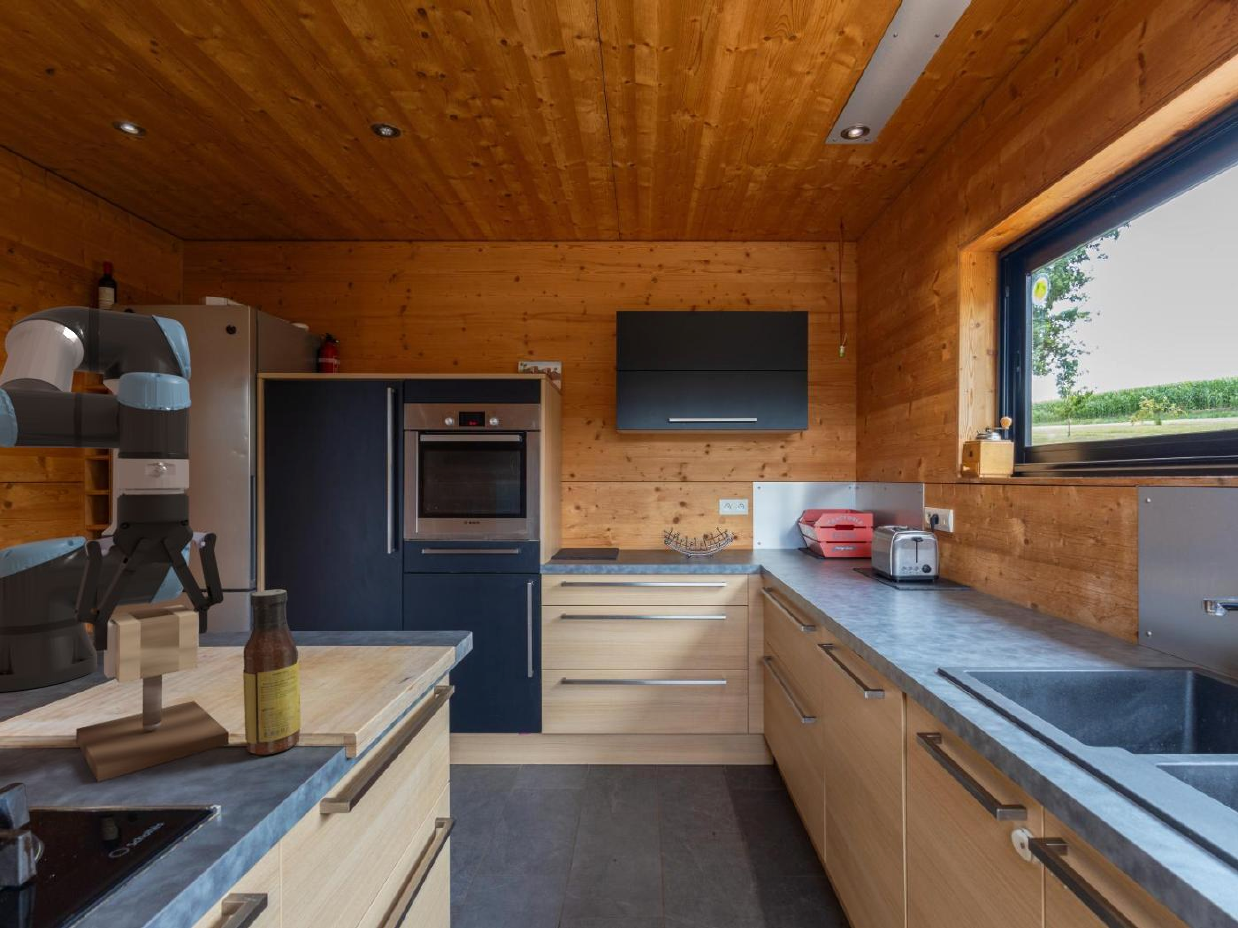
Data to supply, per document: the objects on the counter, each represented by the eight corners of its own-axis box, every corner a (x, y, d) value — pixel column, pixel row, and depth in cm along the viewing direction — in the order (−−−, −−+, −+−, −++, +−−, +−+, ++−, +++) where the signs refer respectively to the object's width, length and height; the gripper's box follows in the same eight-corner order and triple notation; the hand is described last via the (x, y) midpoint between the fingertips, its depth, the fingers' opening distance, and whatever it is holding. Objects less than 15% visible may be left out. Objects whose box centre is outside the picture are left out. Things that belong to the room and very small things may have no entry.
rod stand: (76, 740, 80) (77, 637, 80) (193, 710, 90) (194, 619, 90) (97, 781, 69) (99, 662, 69) (228, 743, 79) (229, 639, 79)
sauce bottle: (310, 736, 81) (311, 587, 81) (280, 758, 75) (281, 597, 75) (264, 734, 82) (265, 586, 82) (230, 756, 75) (231, 596, 76)
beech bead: (107, 668, 79) (107, 614, 79) (181, 655, 85) (181, 604, 85) (119, 683, 74) (120, 625, 74) (197, 667, 80) (197, 613, 80)
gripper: (49, 495, 69) (47, 695, 69) (252, 490, 85) (251, 654, 85) (41, 493, 74) (39, 680, 74) (235, 489, 90) (234, 644, 90)
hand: (152, 666), depth 79 cm, fingers closed on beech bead, 8 cm apart
